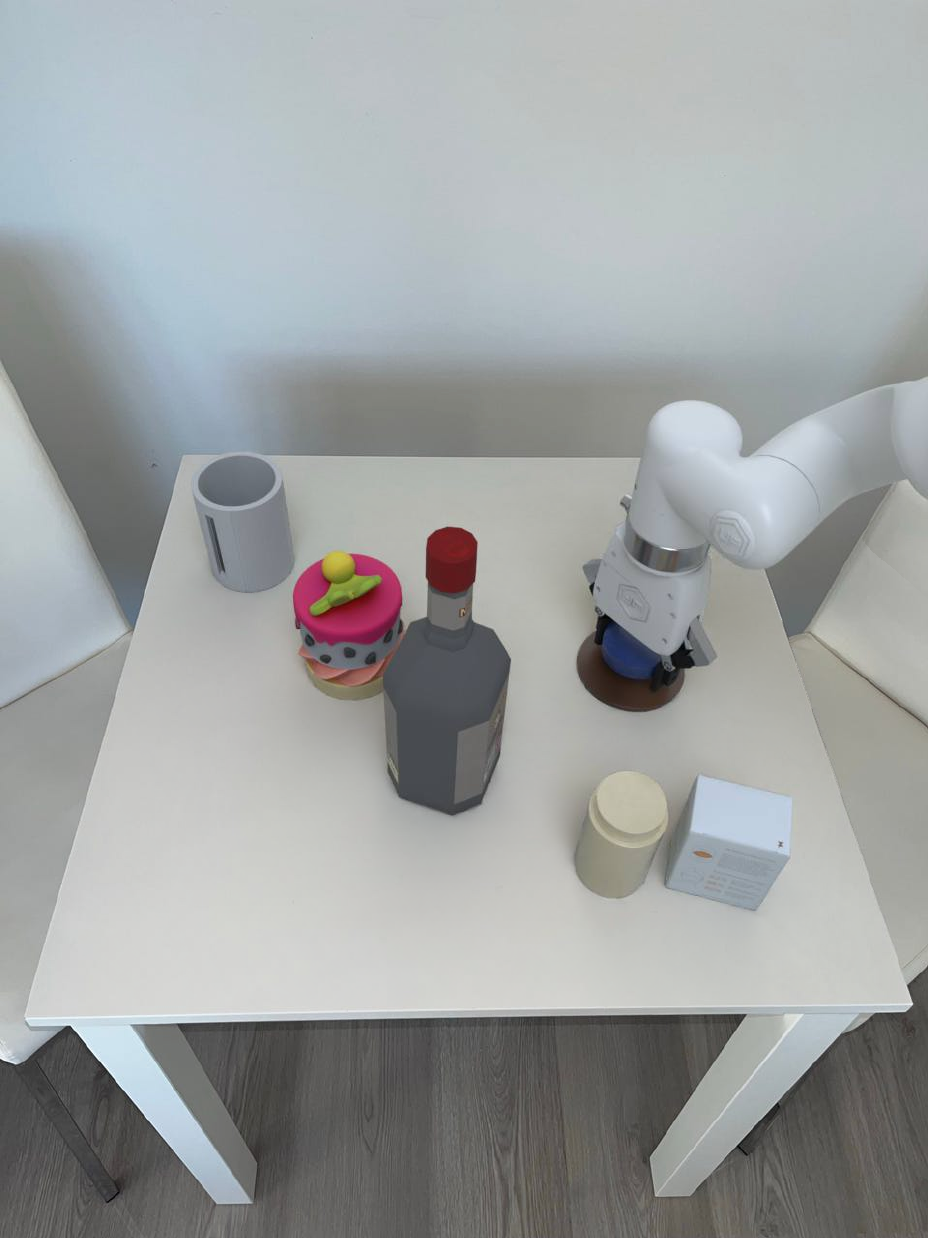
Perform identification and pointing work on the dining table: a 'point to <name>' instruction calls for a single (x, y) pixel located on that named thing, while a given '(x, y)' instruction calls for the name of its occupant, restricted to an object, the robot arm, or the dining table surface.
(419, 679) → the liquor
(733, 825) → the small box
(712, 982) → the dining table surface
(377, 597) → the cake
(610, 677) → the coaster
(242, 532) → the cup
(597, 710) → the dining table surface
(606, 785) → the jar
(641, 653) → the lid
